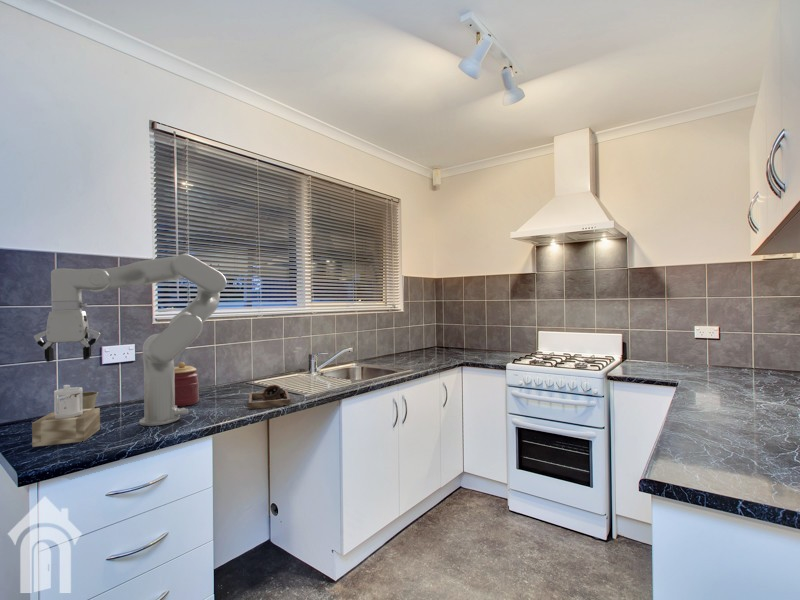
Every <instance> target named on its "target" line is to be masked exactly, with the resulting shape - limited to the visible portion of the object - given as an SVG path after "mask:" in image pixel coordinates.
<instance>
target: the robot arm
mask: <svg viewBox="0 0 800 600" xmlns="http://www.w3.org/2000/svg"><path fill="white" fill-rule="evenodd" d="M181 279H185V280H187V281H188V282H190V283H193V284H194V285H196V289H197V293H196V296H195V298H194V299H193V300H192V301H191V302H190V303H189V304H188V305H187V306H185V307H184V308H183V309H182V310H181V311H179V313H177V314H175V316H173V317H172V318H171V319H170V321H169V323H168V324H169V325H168V326H167V327H166V328H165V329H164V330H163V331H162V332H161V333H155V334H151V335H150V336H148V337H147V338H146V339H145V340H144V343H143V344H142V361H143V384H144V385H143V392H144V393H143V397H144V398H143V402H144V403H143V404H144V405H143V406H144V407H143V408H144V409H143V410H144V411H143V413H144V417H143V418H141V419H139V422H138V423H139V425H140V426H144V427H153V426H161V425H162V426H163V425H167V424H171V423H174V422H177V421H178V420H180V419H181V415H188V414H189V408H185V407H182V408H179V407H177V405H175V369H174V367H175V358H177V357H178V356H179V355H180V354H181V353H182V352H183V351H185V350H186V349H188V348H187V347H189V346H190V345H191V344H192V343H193V342H194V341H196V340H197V339H198V337H199V336H200V335H201V333H202V332H203V328H204V323H205V322H206V321H207V320H208V319H209V318H210V317H211V316H212V315H213V314H214V313H215V312H216V310H217V308H218V306H219V303H220V299H221V294H220V293H221V292H223V291H224V290H225V288H226V286H227V279H226V277H225V275H224V274H223V273H222V272H220V271H219V270H217V269H215V268H214V267H212V266H210V265H208V264H207V263H205V262H203V261H201V260H200V259H198V258H196V257H195V256H193V255H190V254H188V253H182V254H178V255H175V256H167V257H160V258H155V259H154V258H153V259H146V260H140V261H136V262H135V261H134V262H132V263H130V264H125V265H121V266H120V265H119V266H115V267H109V268H108V267H107V268H97V267H95V268H93V267H92V268H82V269H81V268H80V269H78V268H69V267H68V268H67V267H66V268H63V267H62V268H59V267H58V268H55V269H52V270H51V272H50V287H51V293H50V295H51V311H49V313H48V316H47V321H46V329H45V330H43V331H41V332H39V333H37V334H35V335H33V339H34V340H35V342H36V343H37V345H39V347H42V349H43V350H44V360H45V362H47V363H48V362H49V363H50V362H53V361H54V358H55V357H54V356H55V355H54V354H55V353H54V348H53V346H54V345H55V344H57V343H58V344H59V343H75V342H77V343H79V342H80V343H81V344H82V345H83V347H82V356H83V357H82V358H83V360H88V359H90V358H91V357H92V347H93V345H94V344H95V343H96V342H97V341H98V339H99V338H100V336H101V333H100V331H97V330H94V329H92V328H90V327H89V326H90V325H89V320H88V315H87V312H86V310H84V308H88V303H87V302H83V295H82V293H83V291H90V292H102V291H109V290H115V289H121V288H127V287H134V286H135V287H136V286H146V285H151V284H152V285H153V284H157V283H164V282H169V281H170V282H171V281H175V280H181ZM90 335H92V338H90ZM45 336H46V341H45V340H43V337H45ZM89 339H90V340H89Z"/></svg>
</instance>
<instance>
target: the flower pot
mask: <svg viewBox="0 0 800 600" xmlns="http://www.w3.org/2000/svg"><path fill="white" fill-rule="evenodd" d="M78 394H80V393H77V394H71V395H70V397H66V398H71V396H72V395H75V397H76V395H78ZM98 395H99V392H98V391H84V392H83V409H92V408H95V407H96V400H97V398H98Z"/></svg>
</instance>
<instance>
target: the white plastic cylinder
mask: <svg viewBox="0 0 800 600" xmlns="http://www.w3.org/2000/svg"><path fill="white" fill-rule="evenodd" d="M77 393H80V394H78V395H76V397H75V395H72V394H77ZM70 395H72V396H71V398H67V397H70ZM53 401H54V402H53V403H54V404H53V408H54V409H53V410H54V411H53V412H54V418H57V419H62V418H63V419H64V418H75V416H79V415H82V414H83V387H81V386H74V387H71V385H70V384H64V385H63V388H58V389H56V390H54V391H53Z"/></svg>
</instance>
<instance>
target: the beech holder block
mask: <svg viewBox="0 0 800 600" xmlns="http://www.w3.org/2000/svg"><path fill="white" fill-rule="evenodd" d="M100 410H101V408H100V407H96V408H92V409H83V414H82V415H79V416H75V418H64V419H63V418H62V419H57V418H54V411H51V412H50V413H48V414H47V415H44V416H42V417H41V418H39V419H37V420H35V421H34V422H33V421H32V423H31V432H32V433H31V436H32V437H31V438H32V440H31V443H32V444H31V446H32V447H33V448H36V447H44V446H52V445H63V444H71V443H81V442H82V441H83V442H85V441H87V440H88V439H89V438H91V437H92V436H93V435H94V434H96V433H97V432H98V431H99V430H101V413H100ZM83 442H82V443H83Z"/></svg>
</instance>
